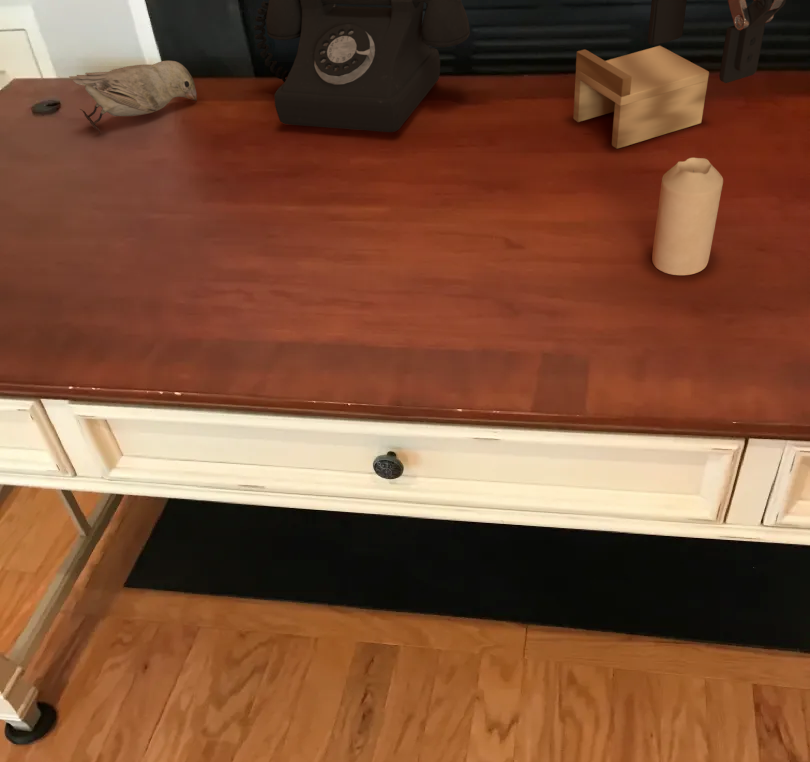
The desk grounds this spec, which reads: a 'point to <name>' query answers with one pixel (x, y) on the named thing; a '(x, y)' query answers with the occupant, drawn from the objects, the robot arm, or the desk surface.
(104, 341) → the desk surface
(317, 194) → the desk surface
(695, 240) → the candle
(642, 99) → the wooden stand
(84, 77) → the decorative bird
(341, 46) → the rotary telephone
